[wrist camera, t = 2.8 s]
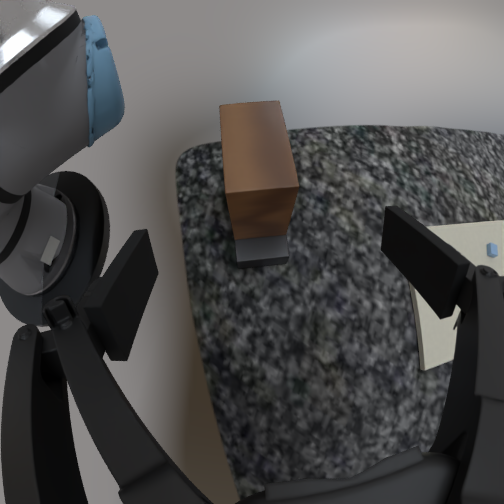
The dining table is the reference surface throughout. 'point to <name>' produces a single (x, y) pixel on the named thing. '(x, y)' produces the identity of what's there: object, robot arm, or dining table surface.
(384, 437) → the dining table surface
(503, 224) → the board
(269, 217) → the eraser
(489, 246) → the small blue block
